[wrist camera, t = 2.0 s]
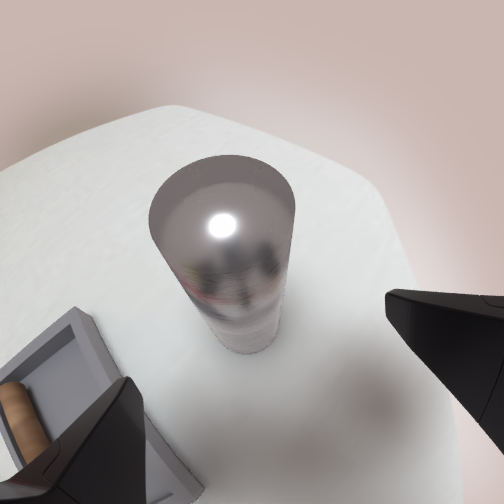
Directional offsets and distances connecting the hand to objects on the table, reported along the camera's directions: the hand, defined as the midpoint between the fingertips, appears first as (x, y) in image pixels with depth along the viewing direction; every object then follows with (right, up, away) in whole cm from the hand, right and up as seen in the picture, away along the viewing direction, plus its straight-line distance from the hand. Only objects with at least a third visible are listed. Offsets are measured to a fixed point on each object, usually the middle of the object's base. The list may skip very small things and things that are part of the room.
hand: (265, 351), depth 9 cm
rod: (-18, -11, +6) cm, 22 cm away
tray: (-14, -11, +6) cm, 19 cm away
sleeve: (-1, -2, +11) cm, 12 cm away
